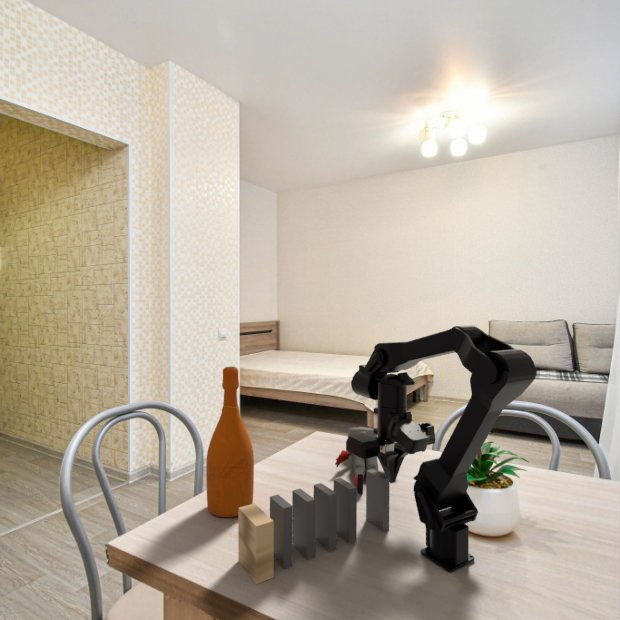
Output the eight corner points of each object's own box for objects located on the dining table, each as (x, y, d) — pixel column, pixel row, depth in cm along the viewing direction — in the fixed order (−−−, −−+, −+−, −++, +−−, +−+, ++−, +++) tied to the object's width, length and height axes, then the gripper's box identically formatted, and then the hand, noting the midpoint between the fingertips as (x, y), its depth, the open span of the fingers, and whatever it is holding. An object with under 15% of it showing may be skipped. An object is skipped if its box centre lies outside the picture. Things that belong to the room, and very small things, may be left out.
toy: (335, 475, 96) (335, 416, 126) (334, 512, 98) (335, 445, 128) (405, 477, 95) (389, 417, 125) (404, 514, 97) (388, 447, 127)
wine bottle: (263, 506, 91) (263, 366, 90) (227, 525, 83) (227, 372, 82) (233, 493, 97) (233, 362, 96) (196, 509, 89) (196, 367, 89)
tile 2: (356, 541, 77) (356, 487, 77) (349, 544, 77) (349, 489, 76) (340, 529, 82) (340, 477, 82) (333, 531, 81) (333, 479, 81)
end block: (273, 577, 67) (273, 521, 67) (256, 584, 66) (256, 526, 66) (254, 555, 73) (254, 503, 73) (238, 560, 72) (238, 507, 71)
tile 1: (389, 529, 82) (389, 477, 82) (382, 531, 81) (383, 479, 81) (372, 518, 86) (372, 468, 86) (366, 520, 85) (366, 470, 85)
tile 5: (292, 565, 70) (292, 506, 70) (283, 569, 69) (283, 508, 69) (278, 551, 74) (278, 494, 74) (269, 553, 74) (269, 496, 73)
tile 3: (336, 549, 75) (336, 493, 75) (329, 552, 74) (329, 495, 74) (320, 536, 79) (320, 482, 79) (313, 538, 78) (313, 484, 78)
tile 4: (315, 557, 73) (315, 499, 72) (307, 560, 72) (307, 501, 72) (300, 543, 77) (300, 488, 77) (292, 545, 76) (292, 490, 76)
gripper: (380, 421, 73) (380, 510, 74) (456, 408, 83) (455, 487, 83) (344, 407, 83) (344, 486, 83) (415, 396, 92) (415, 468, 93)
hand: (391, 482), depth 85 cm, fingers closed
